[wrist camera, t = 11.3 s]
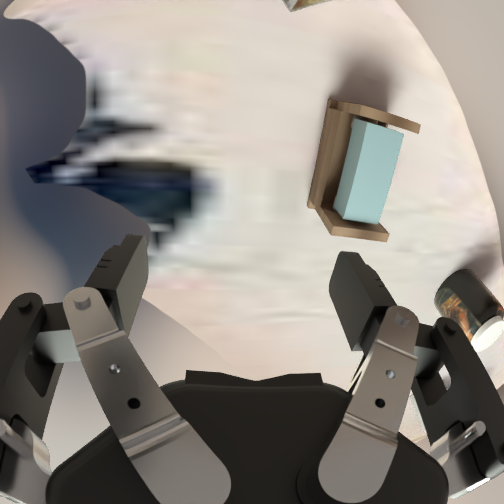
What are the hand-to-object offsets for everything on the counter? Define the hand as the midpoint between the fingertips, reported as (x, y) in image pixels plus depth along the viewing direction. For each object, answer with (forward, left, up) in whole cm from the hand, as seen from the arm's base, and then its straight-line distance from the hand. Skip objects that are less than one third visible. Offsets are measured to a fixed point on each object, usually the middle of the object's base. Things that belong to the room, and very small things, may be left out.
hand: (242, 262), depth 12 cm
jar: (+53, +11, -29) cm, 61 cm away
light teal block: (+13, +9, -25) cm, 29 cm away
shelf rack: (+13, +9, -29) cm, 33 cm away
